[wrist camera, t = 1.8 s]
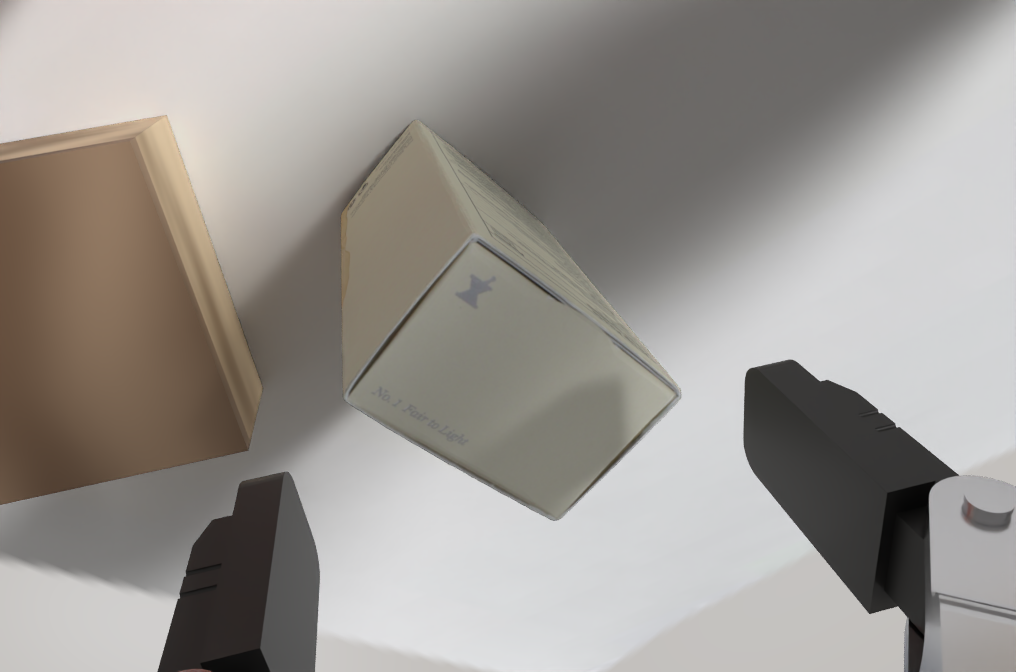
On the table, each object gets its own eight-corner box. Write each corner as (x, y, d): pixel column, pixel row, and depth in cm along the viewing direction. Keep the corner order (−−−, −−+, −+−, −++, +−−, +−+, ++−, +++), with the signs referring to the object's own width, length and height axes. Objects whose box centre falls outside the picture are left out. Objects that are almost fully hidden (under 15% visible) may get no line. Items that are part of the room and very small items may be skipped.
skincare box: (337, 214, 24) (319, 398, 14) (418, 110, 23) (467, 221, 13) (477, 314, 27) (553, 535, 16) (555, 225, 26) (692, 397, 15)
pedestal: (166, 115, 22) (129, 140, 19) (263, 388, 27) (248, 450, 23) (-181, 174, 21) (-289, 213, 18) (-18, 447, 26) (-78, 521, 22)
